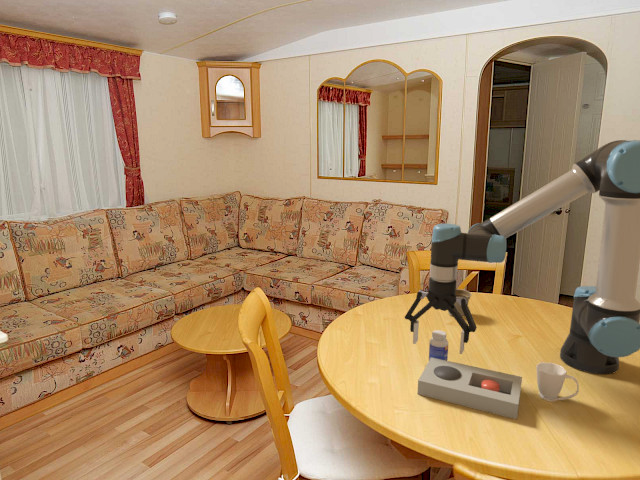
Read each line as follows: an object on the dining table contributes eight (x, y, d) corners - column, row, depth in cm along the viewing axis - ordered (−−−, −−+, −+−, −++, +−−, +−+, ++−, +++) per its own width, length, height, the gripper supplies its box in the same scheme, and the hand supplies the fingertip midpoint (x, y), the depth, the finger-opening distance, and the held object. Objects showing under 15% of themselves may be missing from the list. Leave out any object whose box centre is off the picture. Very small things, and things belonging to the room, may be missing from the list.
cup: (534, 386, 121) (537, 359, 119) (576, 396, 117) (580, 368, 115) (532, 399, 115) (535, 371, 113) (576, 410, 111) (580, 381, 109)
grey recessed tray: (520, 390, 119) (522, 375, 118) (516, 419, 107) (518, 403, 106) (430, 369, 130) (431, 356, 129) (417, 394, 118) (418, 379, 117)
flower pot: (439, 311, 173) (440, 290, 171) (460, 308, 176) (461, 287, 174) (453, 320, 165) (454, 298, 163) (475, 317, 167) (476, 295, 165)
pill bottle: (447, 368, 131) (449, 337, 129) (428, 366, 132) (430, 336, 130) (446, 359, 136) (448, 329, 134) (428, 358, 137) (429, 328, 135)
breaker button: (500, 388, 117) (500, 382, 117) (498, 396, 113) (498, 390, 113) (482, 384, 119) (482, 378, 118) (479, 392, 115) (480, 386, 115)
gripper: (490, 281, 126) (484, 350, 131) (404, 268, 137) (400, 333, 142) (487, 289, 119) (480, 362, 124) (396, 275, 130) (393, 343, 135)
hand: (437, 347), depth 133 cm, fingers open, 13 cm apart
